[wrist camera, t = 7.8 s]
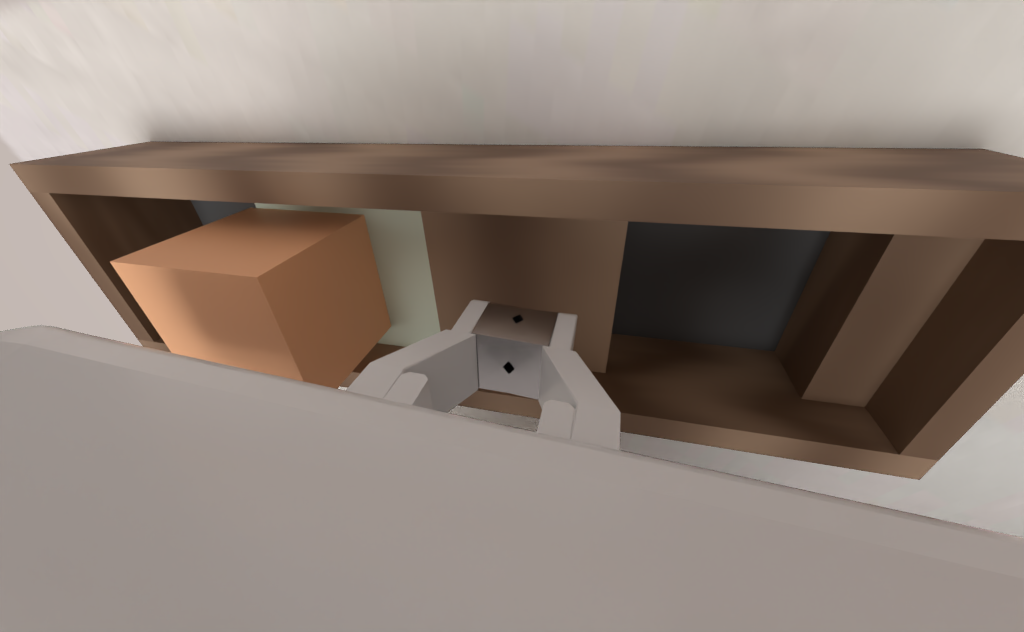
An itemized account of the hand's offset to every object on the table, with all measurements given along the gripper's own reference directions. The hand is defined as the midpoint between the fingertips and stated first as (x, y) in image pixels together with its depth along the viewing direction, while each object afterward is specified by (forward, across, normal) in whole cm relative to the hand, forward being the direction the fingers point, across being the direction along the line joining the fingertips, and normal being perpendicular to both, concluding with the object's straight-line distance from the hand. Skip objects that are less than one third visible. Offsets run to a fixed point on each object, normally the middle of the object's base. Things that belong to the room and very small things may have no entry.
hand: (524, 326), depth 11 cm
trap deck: (+6, +4, +1) cm, 7 cm away
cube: (+3, +9, +1) cm, 10 cm away
